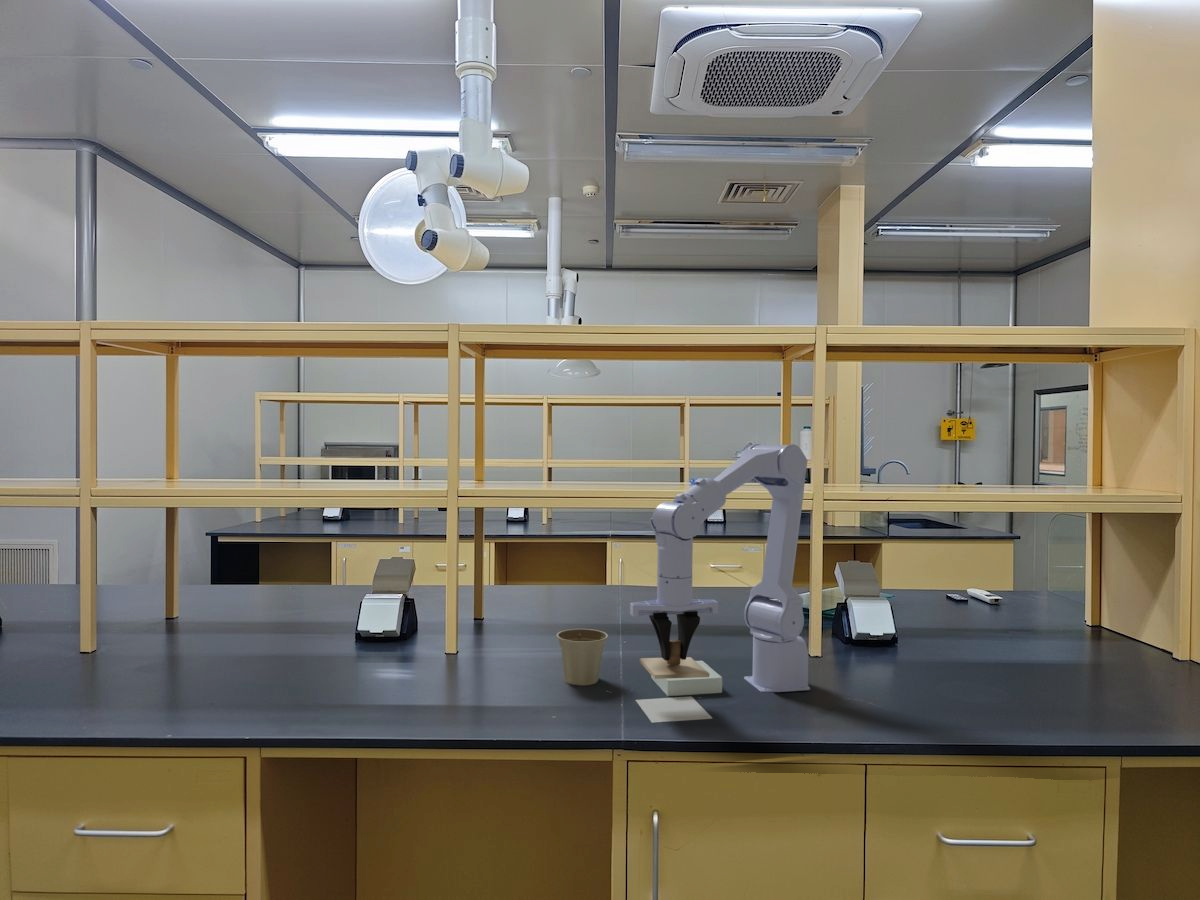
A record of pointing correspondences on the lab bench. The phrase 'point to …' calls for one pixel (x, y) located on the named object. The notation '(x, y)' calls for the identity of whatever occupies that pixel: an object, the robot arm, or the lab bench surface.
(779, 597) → the robot arm
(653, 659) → the lid
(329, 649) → the lab bench surface
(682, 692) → the dish
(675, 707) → the mat
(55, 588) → the lab bench surface
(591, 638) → the flower pot
